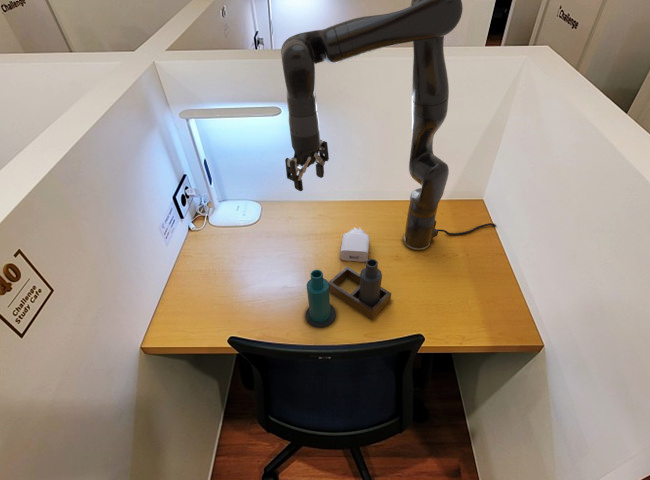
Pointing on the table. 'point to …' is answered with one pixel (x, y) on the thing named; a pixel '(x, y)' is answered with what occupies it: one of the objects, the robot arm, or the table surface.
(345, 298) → the caddy
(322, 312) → the teal bottle
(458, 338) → the table surface
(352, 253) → the charger
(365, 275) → the charcoal bottle
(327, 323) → the coaster
